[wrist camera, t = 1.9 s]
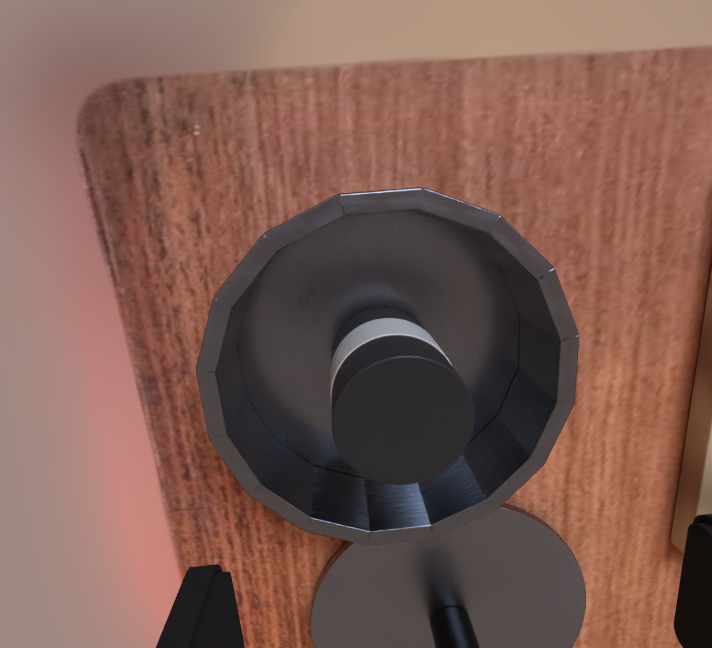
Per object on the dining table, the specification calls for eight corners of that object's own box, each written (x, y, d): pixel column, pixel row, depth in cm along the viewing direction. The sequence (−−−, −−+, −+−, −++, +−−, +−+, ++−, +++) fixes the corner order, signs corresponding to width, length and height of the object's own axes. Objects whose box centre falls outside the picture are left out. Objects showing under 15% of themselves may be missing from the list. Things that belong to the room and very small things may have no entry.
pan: (200, 206, 20) (163, 207, 15) (535, 179, 20) (591, 173, 16) (249, 496, 24) (231, 560, 20) (525, 468, 25) (566, 525, 20)
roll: (325, 310, 21) (323, 361, 14) (430, 300, 21) (477, 347, 14) (335, 405, 22) (337, 494, 16) (433, 396, 22) (476, 479, 16)
